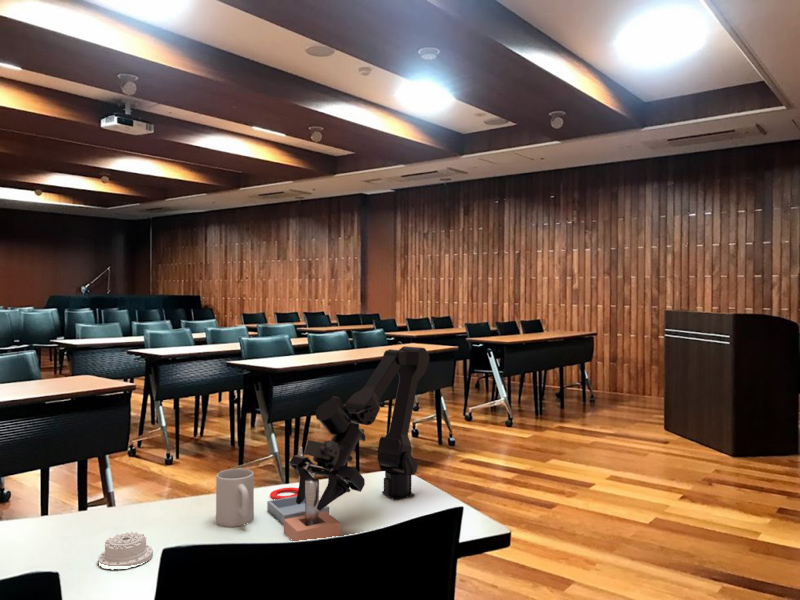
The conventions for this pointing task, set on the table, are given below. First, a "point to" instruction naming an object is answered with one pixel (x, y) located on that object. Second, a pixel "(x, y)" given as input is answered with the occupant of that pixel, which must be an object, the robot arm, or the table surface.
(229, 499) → the mug
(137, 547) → the mechanical component
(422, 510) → the table surface
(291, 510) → the tray
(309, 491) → the pin
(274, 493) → the tow hook
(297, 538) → the block
